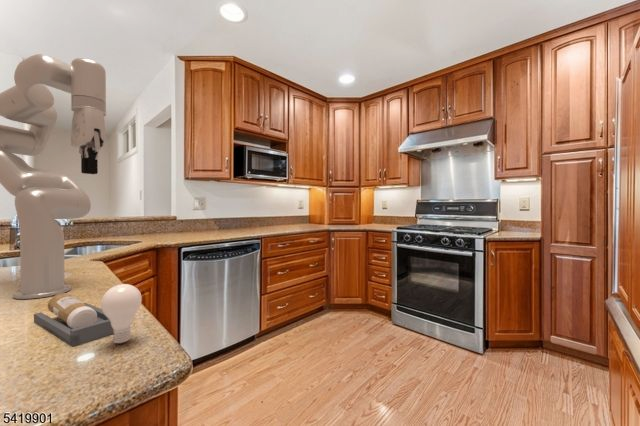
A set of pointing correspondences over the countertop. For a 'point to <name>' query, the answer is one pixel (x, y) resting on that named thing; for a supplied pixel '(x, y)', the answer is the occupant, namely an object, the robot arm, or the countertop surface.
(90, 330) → the tray
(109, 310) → the lightbulb
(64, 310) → the sprinkles bottle
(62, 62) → the robot arm
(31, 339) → the countertop surface
